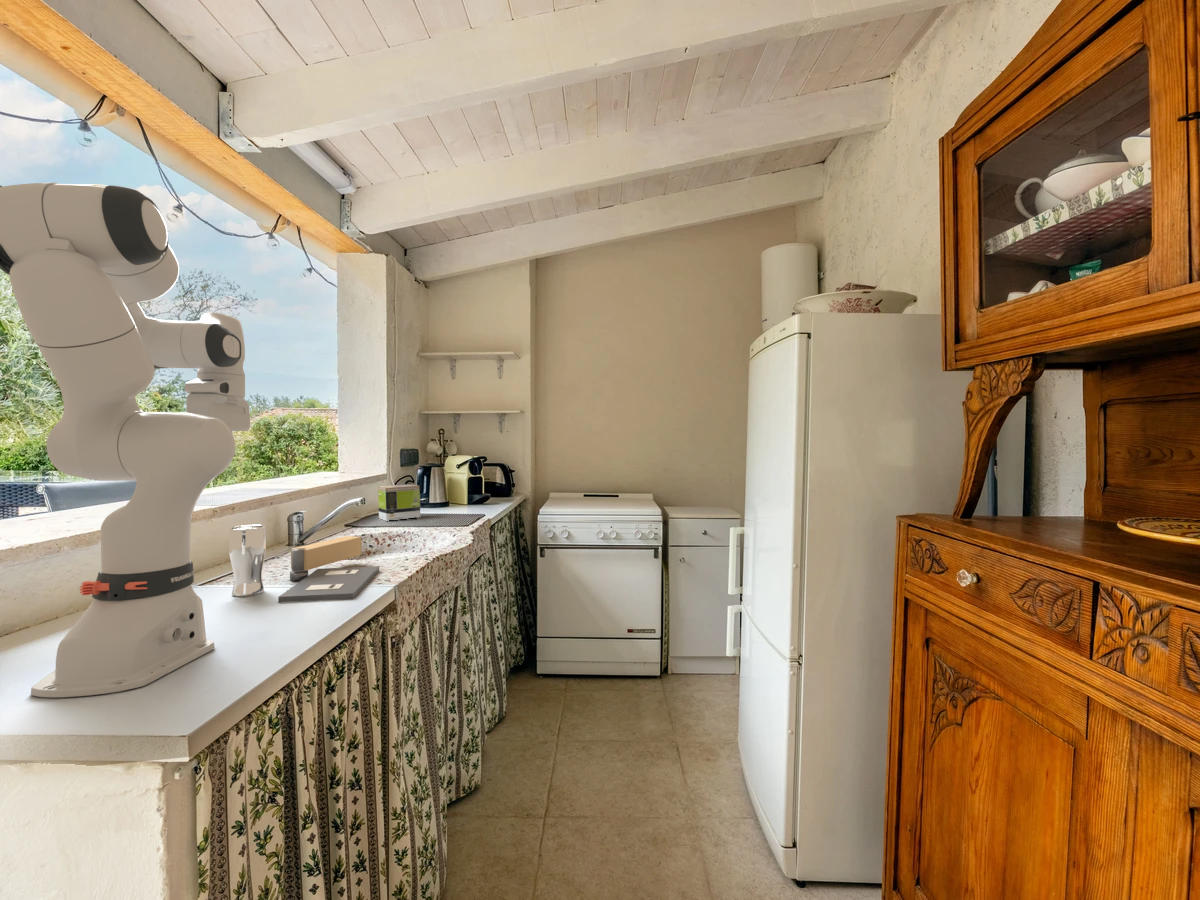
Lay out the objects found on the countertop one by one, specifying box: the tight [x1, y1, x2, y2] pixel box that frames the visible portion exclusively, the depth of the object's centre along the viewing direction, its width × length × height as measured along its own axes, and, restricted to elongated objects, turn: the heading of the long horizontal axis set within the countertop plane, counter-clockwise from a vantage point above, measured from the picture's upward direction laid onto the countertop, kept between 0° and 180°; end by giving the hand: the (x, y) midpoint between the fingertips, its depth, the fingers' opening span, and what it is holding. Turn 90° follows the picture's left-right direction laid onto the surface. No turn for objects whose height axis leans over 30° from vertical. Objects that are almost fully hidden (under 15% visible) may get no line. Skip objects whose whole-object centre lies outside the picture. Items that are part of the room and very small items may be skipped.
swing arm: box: [290, 535, 362, 571], centre depth 145 cm, size 5×21×5 cm, turn 163°
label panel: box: [277, 565, 380, 603], centre depth 132 cm, size 26×15×2 cm, turn 10°
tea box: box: [377, 484, 421, 522], centre depth 241 cm, size 15×10×15 cm
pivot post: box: [289, 570, 309, 583], centre depth 137 cm, size 4×4×2 cm
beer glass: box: [228, 524, 267, 598], centre depth 124 cm, size 7×7×15 cm
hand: (221, 450), depth 123 cm, fingers closed
